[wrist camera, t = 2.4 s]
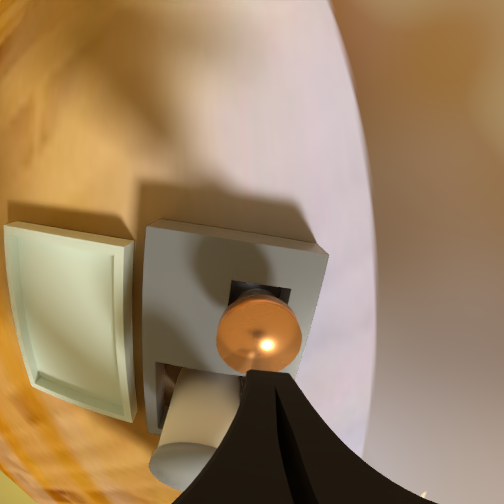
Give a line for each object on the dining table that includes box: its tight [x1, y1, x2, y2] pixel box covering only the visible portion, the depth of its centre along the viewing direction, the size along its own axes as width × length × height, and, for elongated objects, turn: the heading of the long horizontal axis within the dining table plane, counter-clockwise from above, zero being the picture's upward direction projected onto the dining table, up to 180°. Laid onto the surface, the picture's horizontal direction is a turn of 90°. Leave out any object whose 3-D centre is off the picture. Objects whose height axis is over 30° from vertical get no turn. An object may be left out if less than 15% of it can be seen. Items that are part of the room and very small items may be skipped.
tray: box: [4, 221, 138, 423], centre depth 17 cm, size 14×10×2 cm
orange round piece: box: [216, 288, 302, 374], centre depth 13 cm, size 4×4×4 cm
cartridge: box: [149, 367, 240, 492], centre depth 15 cm, size 5×5×8 cm
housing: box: [142, 219, 329, 435], centre depth 17 cm, size 15×9×2 cm, turn 170°
